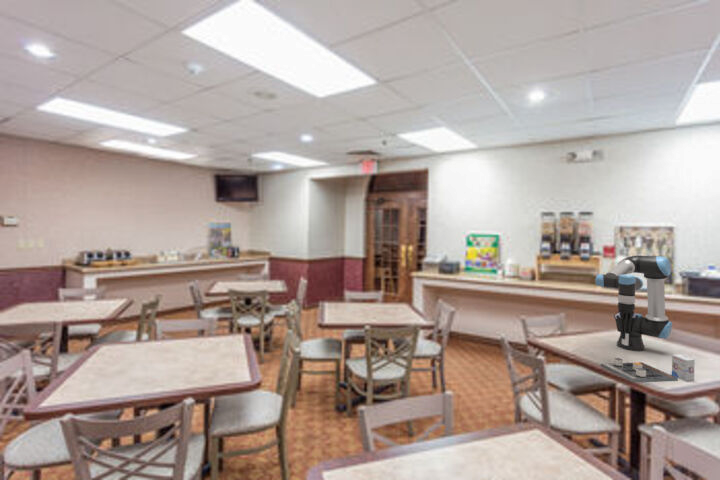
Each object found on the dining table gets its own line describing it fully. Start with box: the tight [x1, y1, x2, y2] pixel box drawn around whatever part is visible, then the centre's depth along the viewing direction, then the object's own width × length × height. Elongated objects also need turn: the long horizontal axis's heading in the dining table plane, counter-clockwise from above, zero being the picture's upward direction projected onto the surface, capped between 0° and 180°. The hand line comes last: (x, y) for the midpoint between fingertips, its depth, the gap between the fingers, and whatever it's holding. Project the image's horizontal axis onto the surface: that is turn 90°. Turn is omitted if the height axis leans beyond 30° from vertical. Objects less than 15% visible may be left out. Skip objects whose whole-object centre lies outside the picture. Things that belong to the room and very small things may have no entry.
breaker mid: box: [632, 361, 642, 370], centre depth 199 cm, size 3×3×4 cm
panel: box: [600, 362, 679, 383], centre depth 199 cm, size 26×22×2 cm
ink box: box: [671, 353, 695, 382], centre depth 193 cm, size 9×5×12 cm, turn 5°
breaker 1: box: [613, 357, 624, 366], centre depth 206 cm, size 3×3×4 cm
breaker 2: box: [636, 368, 646, 377], centre depth 191 cm, size 3×3×4 cm
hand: (625, 344), depth 198 cm, fingers closed
